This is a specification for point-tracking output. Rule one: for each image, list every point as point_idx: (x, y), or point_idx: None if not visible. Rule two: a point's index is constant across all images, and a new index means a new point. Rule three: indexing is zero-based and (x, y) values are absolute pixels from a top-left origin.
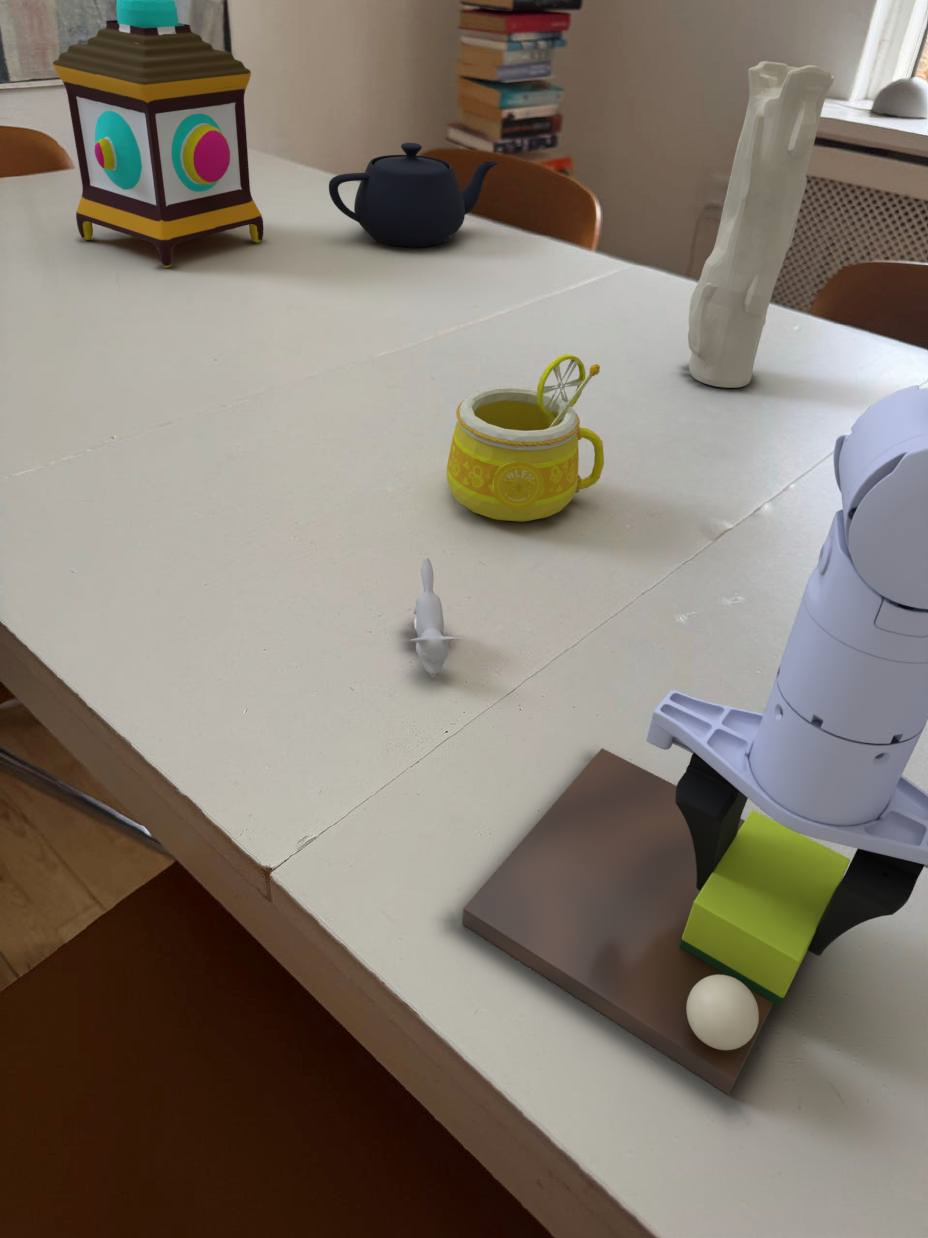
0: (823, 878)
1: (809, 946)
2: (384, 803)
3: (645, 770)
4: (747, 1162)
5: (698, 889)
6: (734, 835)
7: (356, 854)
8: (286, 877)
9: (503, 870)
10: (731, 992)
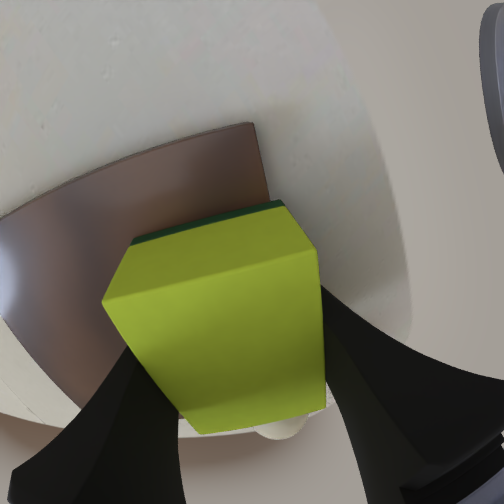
0: (297, 326)
1: None
2: (5, 377)
3: None
4: (327, 387)
5: None
6: (141, 374)
7: (39, 405)
8: (50, 424)
9: (71, 397)
10: (284, 435)
